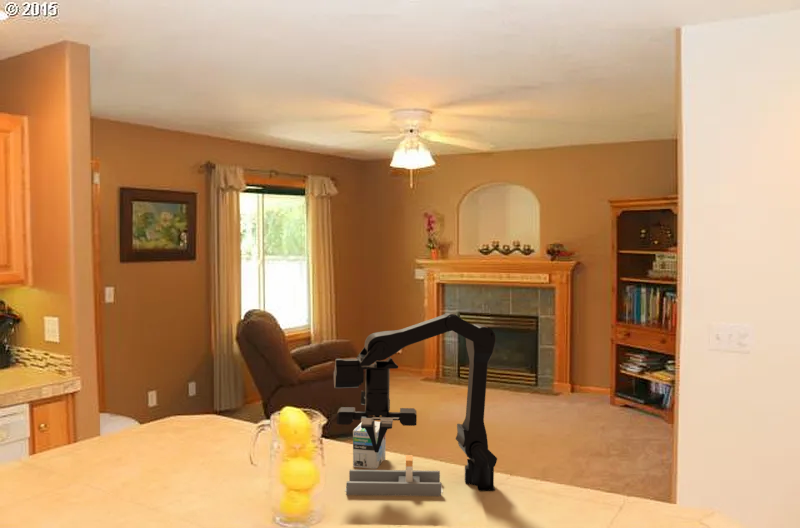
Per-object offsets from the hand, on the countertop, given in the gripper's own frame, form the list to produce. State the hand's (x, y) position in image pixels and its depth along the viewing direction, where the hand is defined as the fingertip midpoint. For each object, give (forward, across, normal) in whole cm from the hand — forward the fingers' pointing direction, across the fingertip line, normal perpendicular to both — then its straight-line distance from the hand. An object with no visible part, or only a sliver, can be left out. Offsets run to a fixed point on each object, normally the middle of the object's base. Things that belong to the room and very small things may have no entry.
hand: (376, 452), depth 161 cm
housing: (+10, -4, 0) cm, 11 cm away
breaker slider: (+9, -8, 0) cm, 12 cm away
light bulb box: (+10, +3, -19) cm, 22 cm away
